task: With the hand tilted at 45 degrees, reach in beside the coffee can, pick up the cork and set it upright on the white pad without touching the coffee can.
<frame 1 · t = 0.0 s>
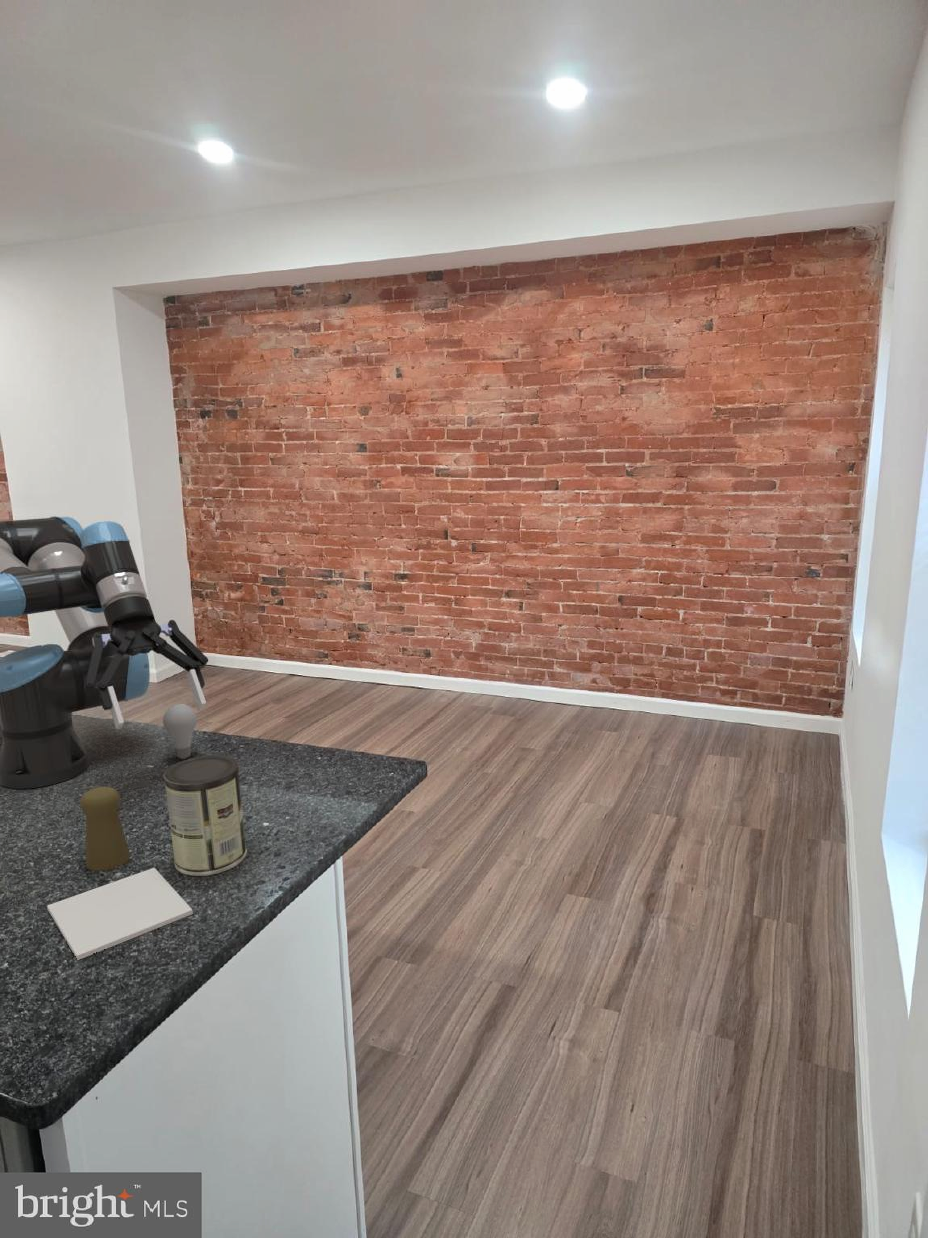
hand: (162, 716, 132), 15 cm above the counter, tool tilted 35°, fingers open, 13 cm apart
coffee can: (210, 859, 117), on the counter
cork: (108, 861, 117), on the counter
lightbulb: (184, 759, 154), on the counter
white pad: (119, 911, 104), on the counter
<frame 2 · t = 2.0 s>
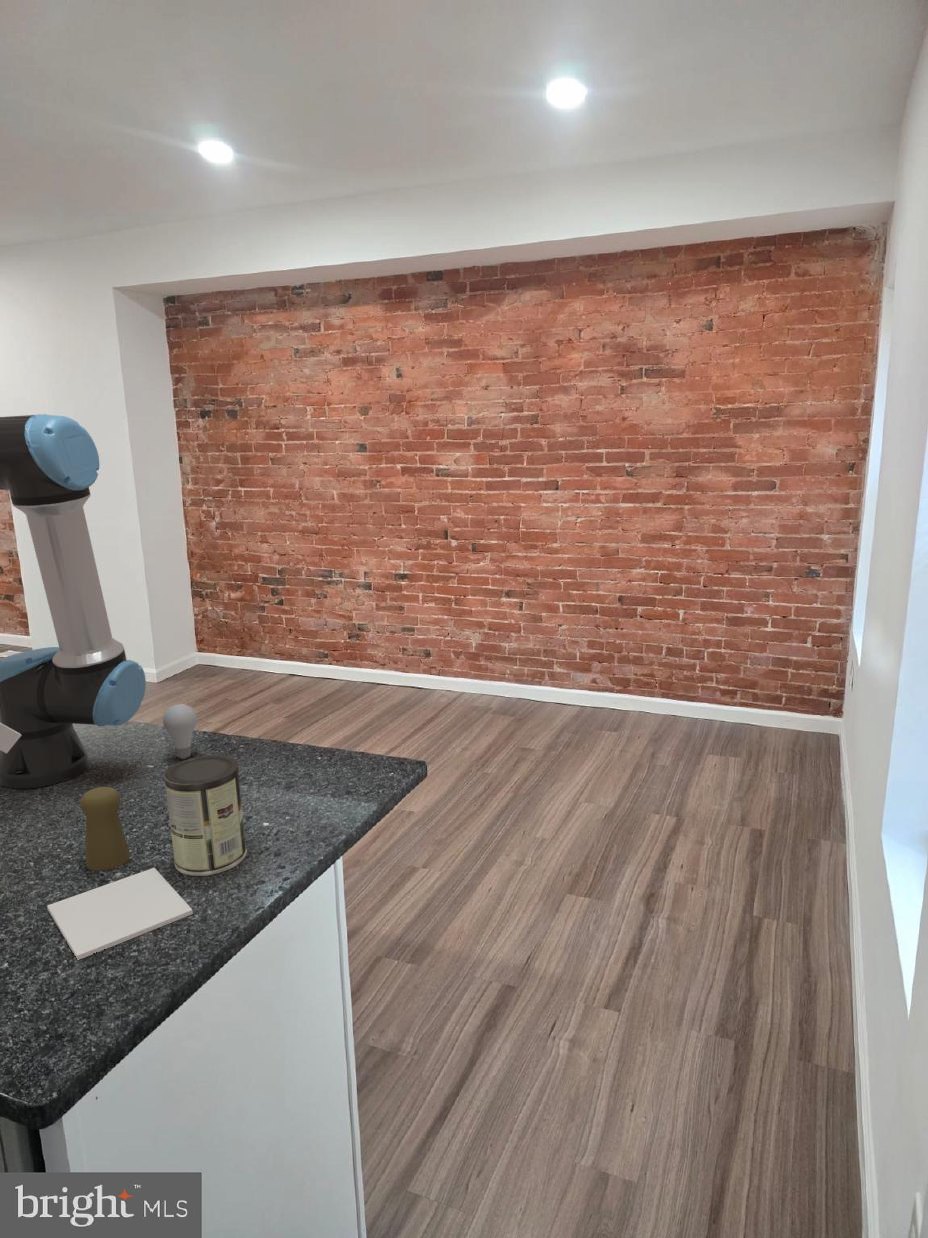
hand: (2, 730, 105), 23 cm above the counter, tool tilted 45°, fingers open, 13 cm apart
nothing on the counter moved.
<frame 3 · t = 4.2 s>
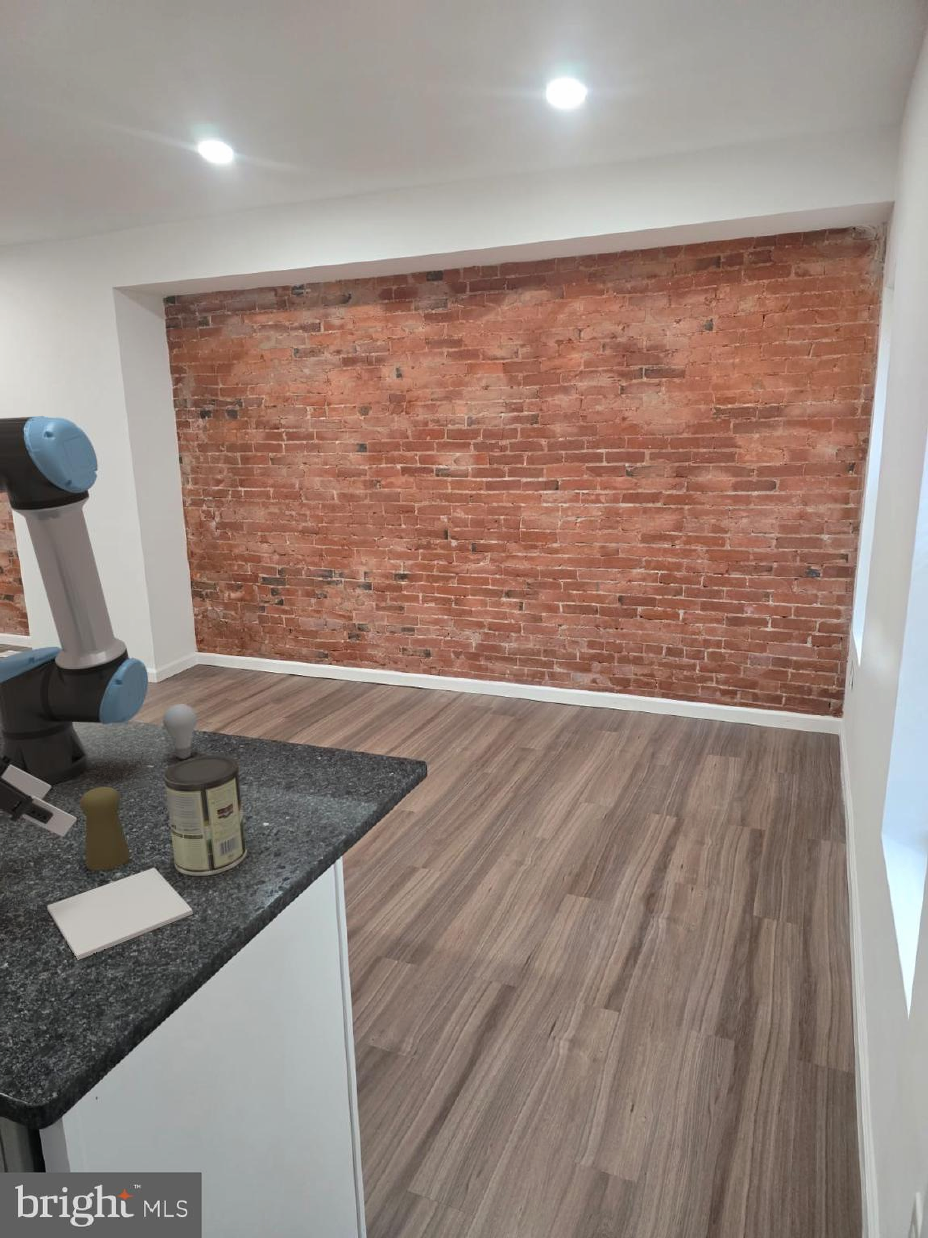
hand: (56, 810, 110), 10 cm above the counter, tool tilted 45°, fingers open, 13 cm apart
nothing on the counter moved.
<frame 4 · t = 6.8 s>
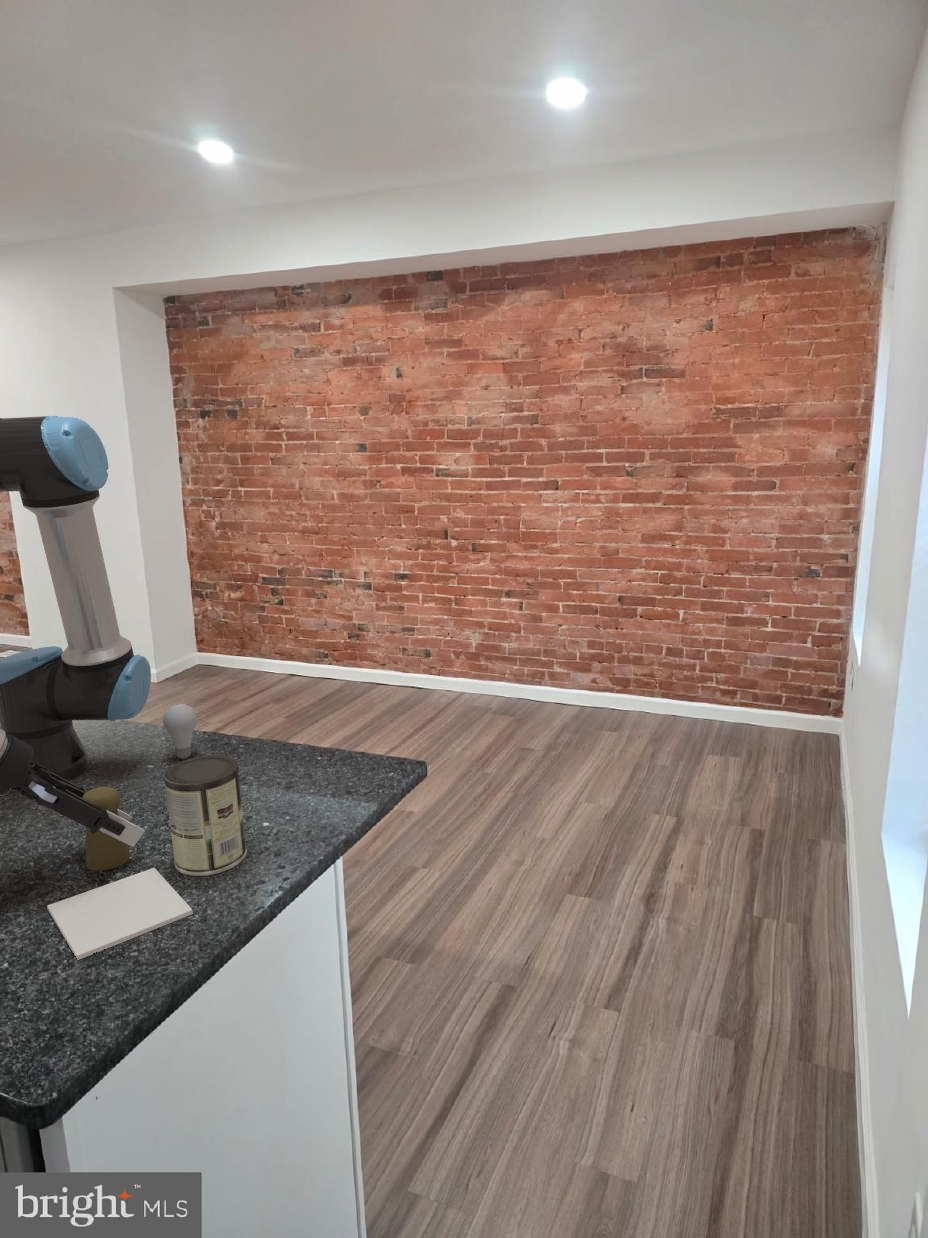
hand: (131, 831, 119), 3 cm above the counter, tool tilted 45°, fingers closed on cork, 5 cm apart
cork: (108, 861, 117), on the counter, touching gripper
everything else where it was.
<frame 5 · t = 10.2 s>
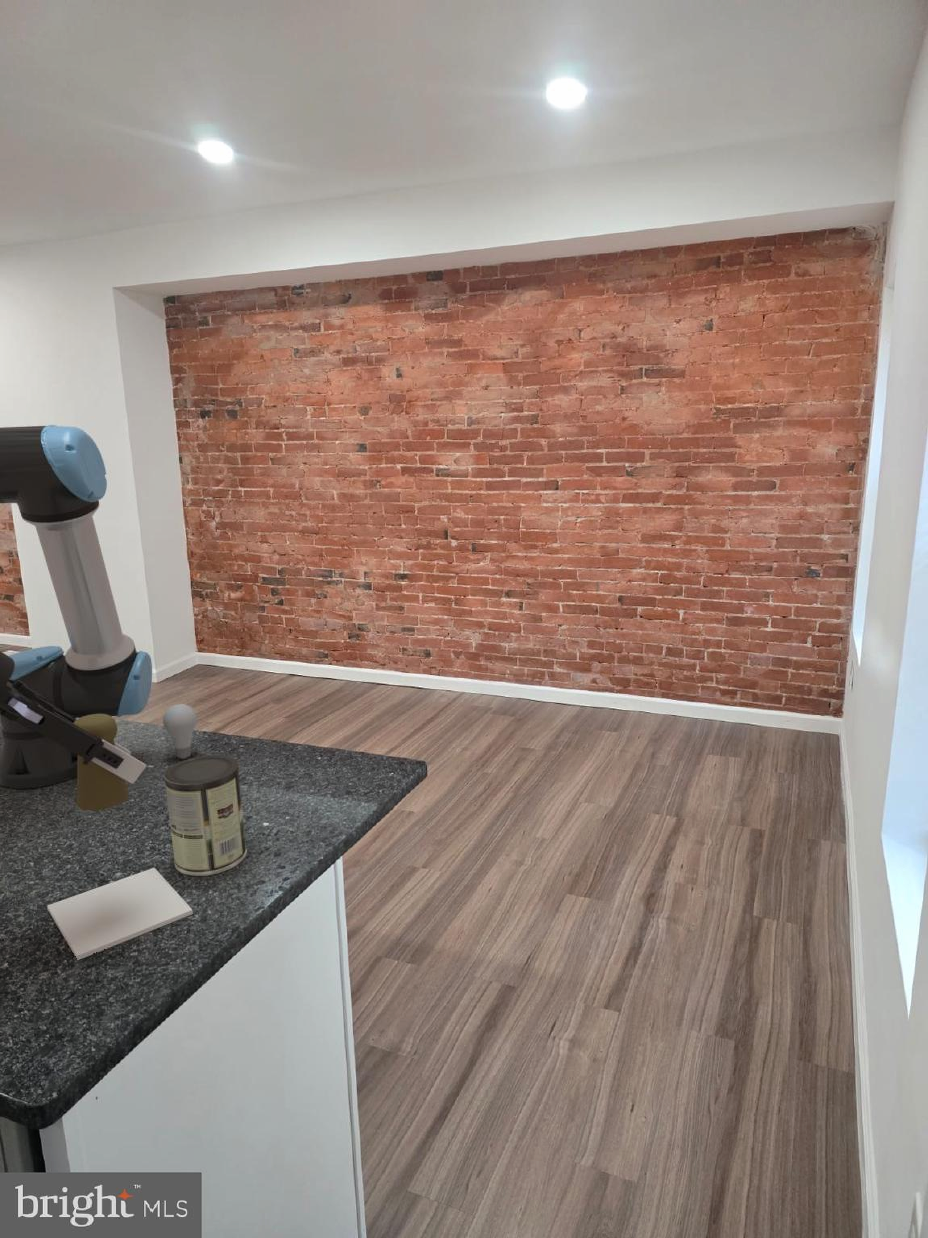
hand: (130, 766, 102), 19 cm above the counter, tool tilted 45°, fingers closed on cork, 5 cm apart
cork: (103, 801, 100), point 16 cm above the counter, touching gripper
everything else where it was.
when the fingers open (5 cm above the counter, at t = 13.5 s): cork moves 2 cm, resting on white pad.
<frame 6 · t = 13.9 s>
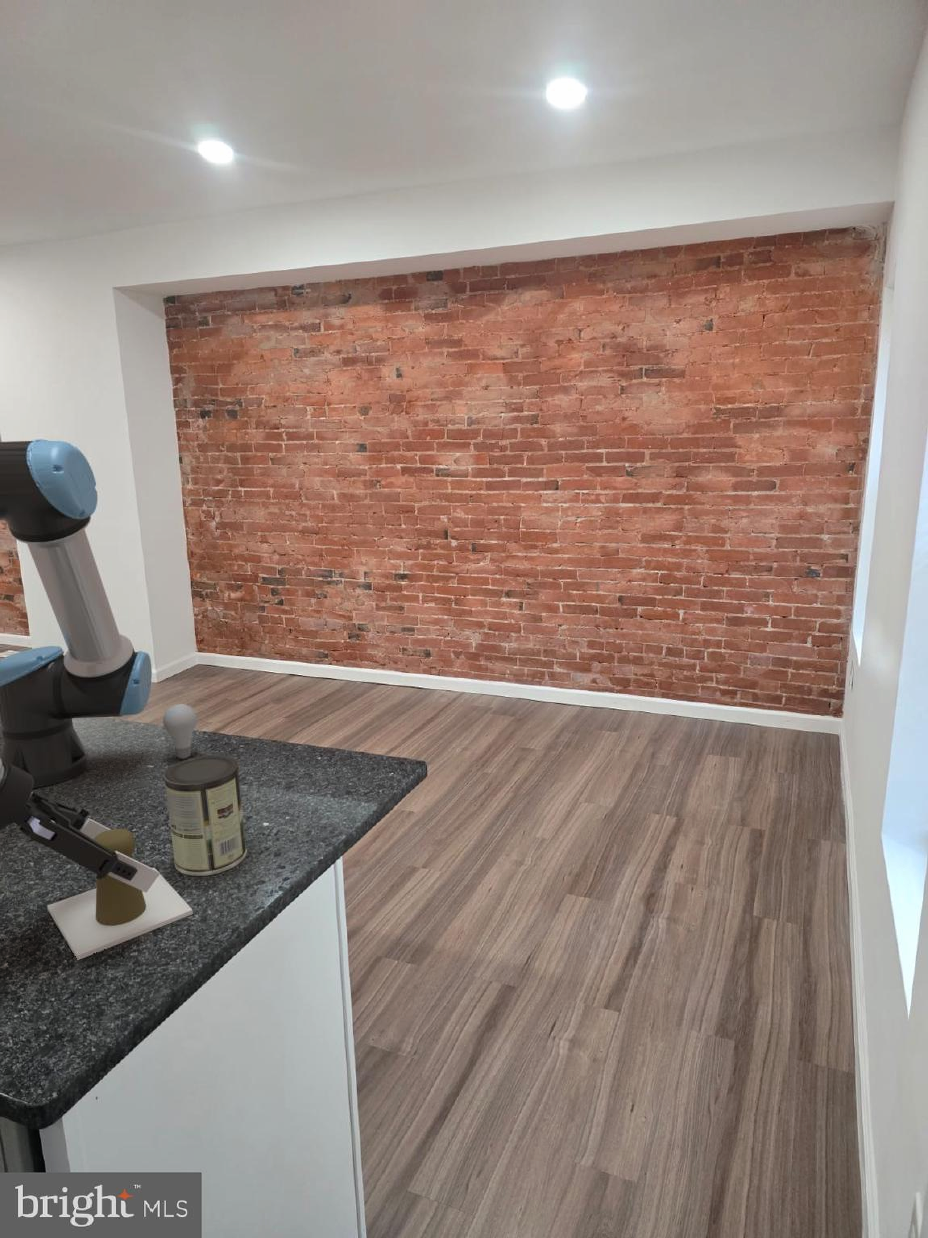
hand: (136, 864, 104), 6 cm above the counter, tool tilted 45°, fingers open, 11 cm apart
cork: (121, 913, 103), resting on white pad
everything else where it was.
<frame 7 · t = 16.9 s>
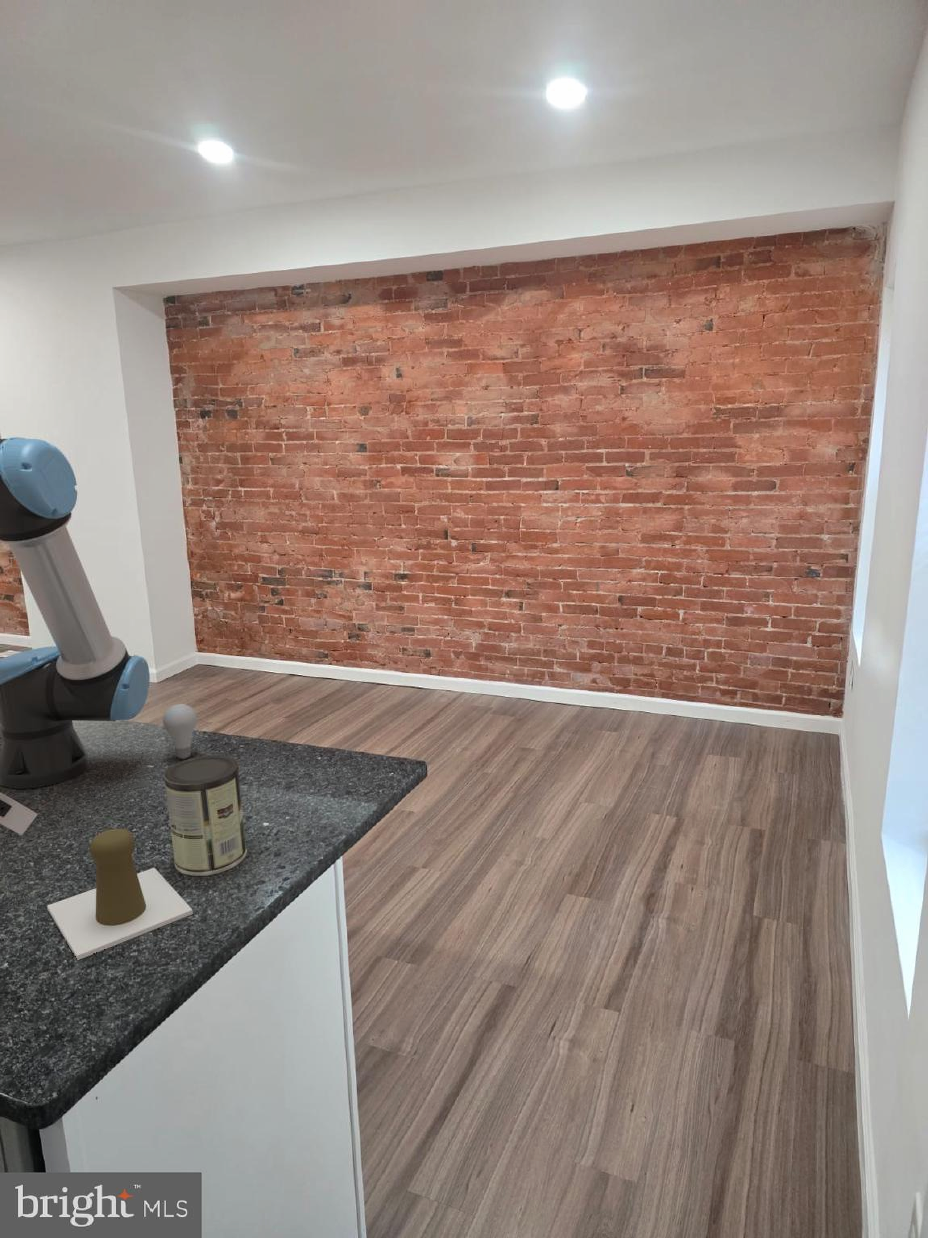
hand: (7, 812, 95), 17 cm above the counter, tool tilted 40°, fingers open, 13 cm apart
nothing on the counter moved.
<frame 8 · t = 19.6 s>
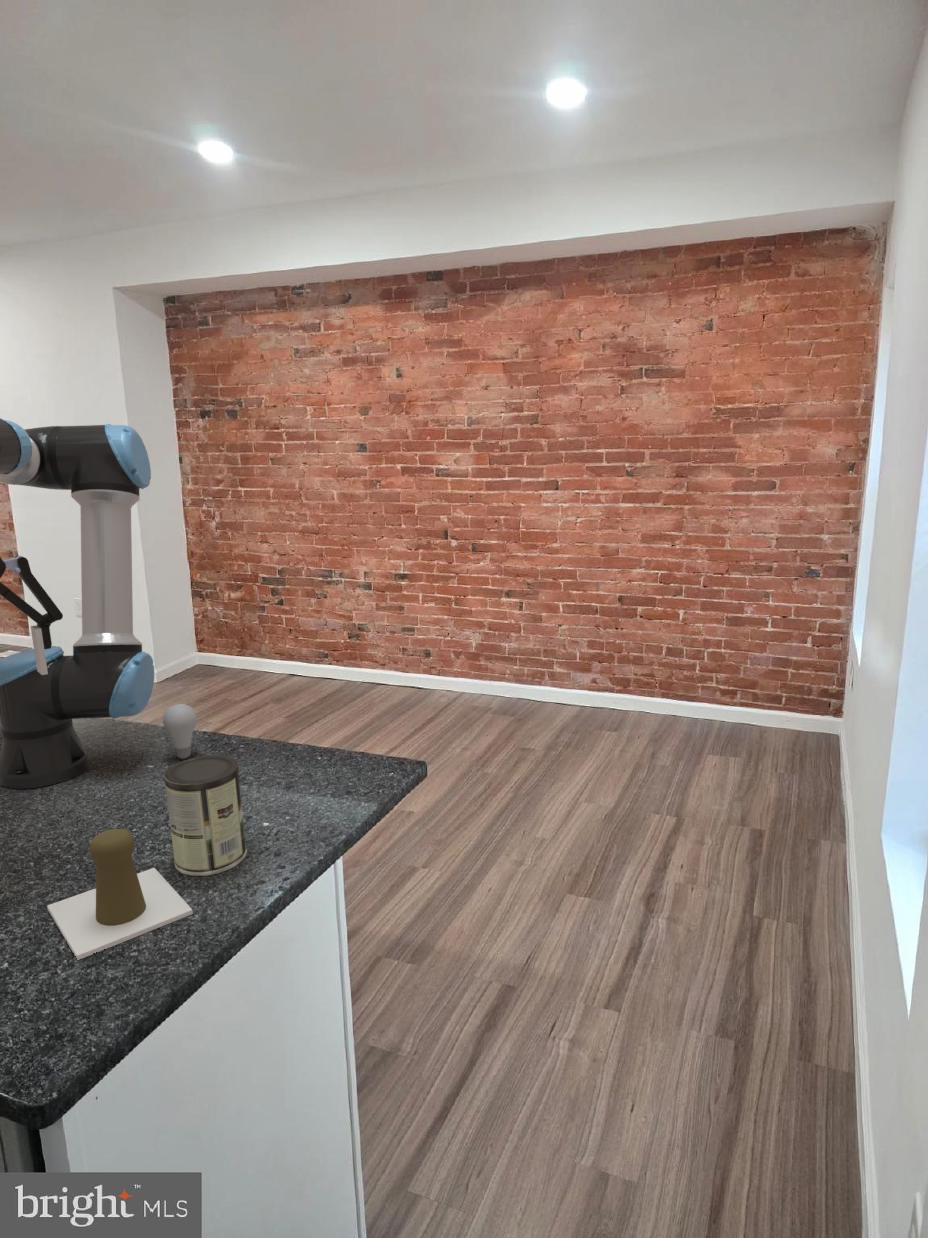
nothing on the counter moved.
at the end: cork inside the target area on the white pad (1.2 cm from its centre), point 0.4 cm above the white pad's base; cork tilted 0°; coffee can moved 0.2 cm from its start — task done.
